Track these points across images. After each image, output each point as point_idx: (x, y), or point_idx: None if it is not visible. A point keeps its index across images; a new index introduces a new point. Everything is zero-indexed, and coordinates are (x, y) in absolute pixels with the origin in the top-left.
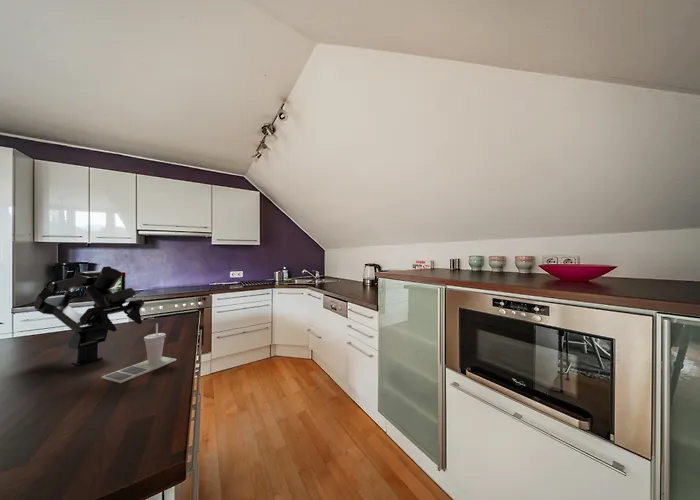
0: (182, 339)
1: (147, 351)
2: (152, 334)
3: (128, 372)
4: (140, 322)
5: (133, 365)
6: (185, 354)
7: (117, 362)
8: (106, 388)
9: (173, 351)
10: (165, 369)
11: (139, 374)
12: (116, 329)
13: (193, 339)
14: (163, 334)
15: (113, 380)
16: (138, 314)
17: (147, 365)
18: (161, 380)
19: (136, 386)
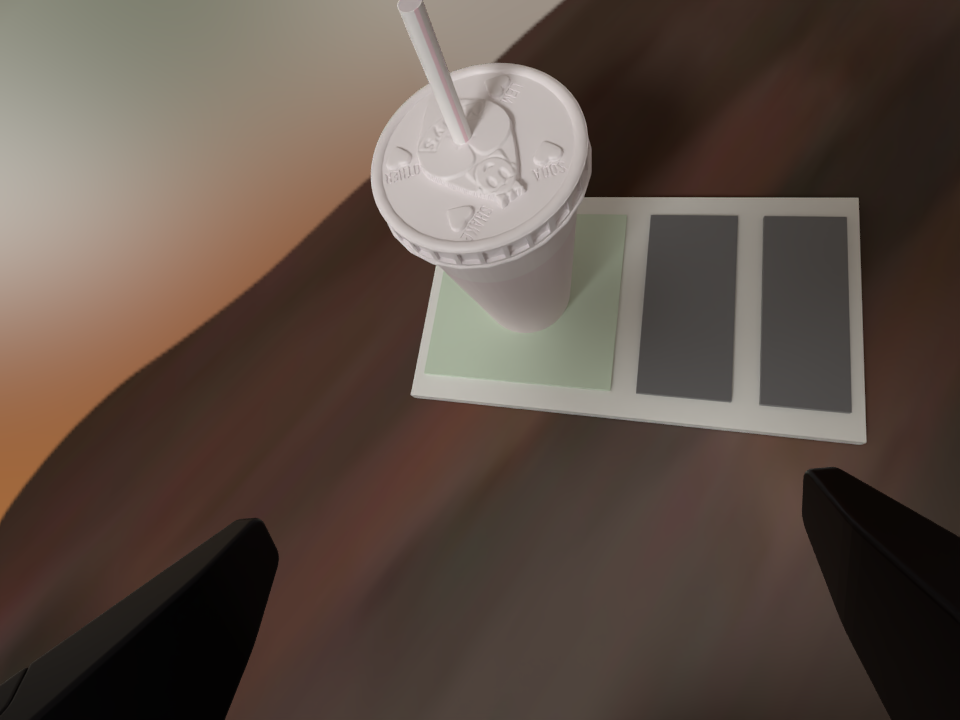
0: (24, 594)
1: (573, 245)
2: (432, 235)
3: (735, 294)
4: (256, 529)
5: (615, 408)
6: (347, 244)
7: (573, 689)
8: (946, 216)
9: (297, 394)
10: (592, 138)
11: (720, 199)
12: (815, 470)
13: (39, 481)
14: (415, 114)
15: (859, 280)
16: (35, 690)
17: (596, 280)
18: (724, 17)
19: (839, 69)
